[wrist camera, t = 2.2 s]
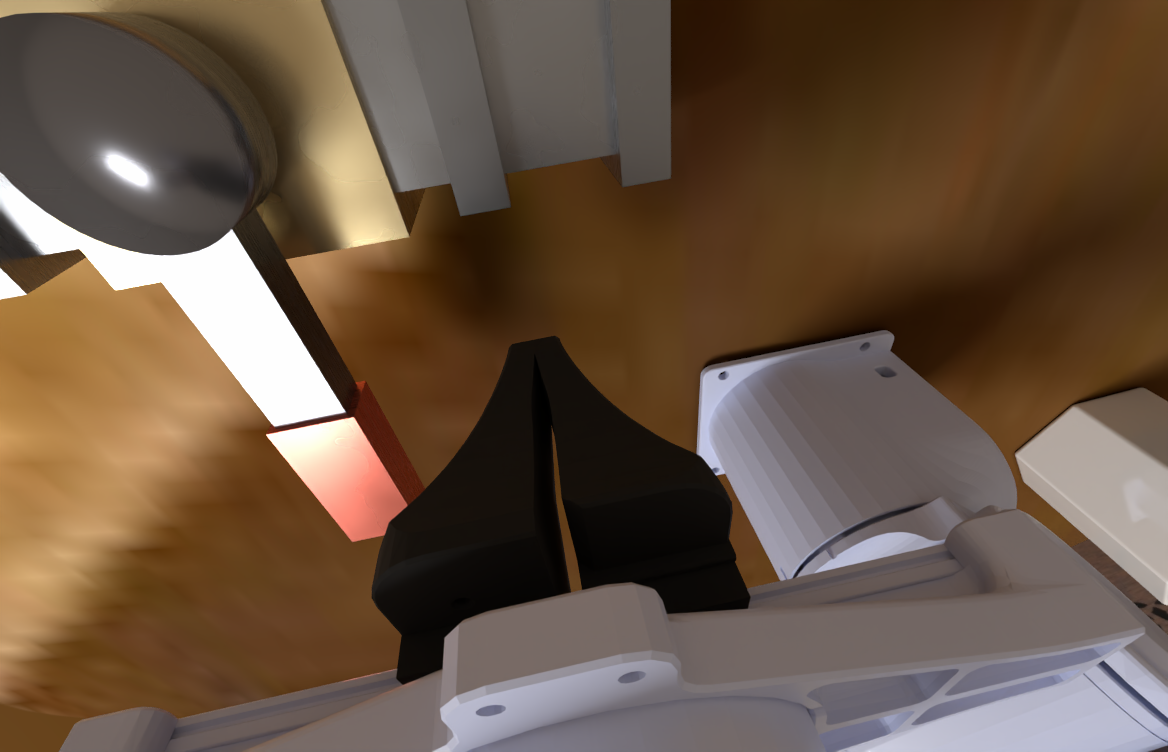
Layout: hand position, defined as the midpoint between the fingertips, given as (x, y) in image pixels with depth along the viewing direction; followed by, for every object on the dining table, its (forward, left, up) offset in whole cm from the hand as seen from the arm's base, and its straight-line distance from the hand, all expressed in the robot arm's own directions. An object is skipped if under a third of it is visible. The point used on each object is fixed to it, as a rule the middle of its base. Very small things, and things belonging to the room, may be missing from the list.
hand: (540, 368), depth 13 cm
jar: (-34, +19, -6) cm, 39 cm away
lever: (+6, -2, -1) cm, 6 cm away
